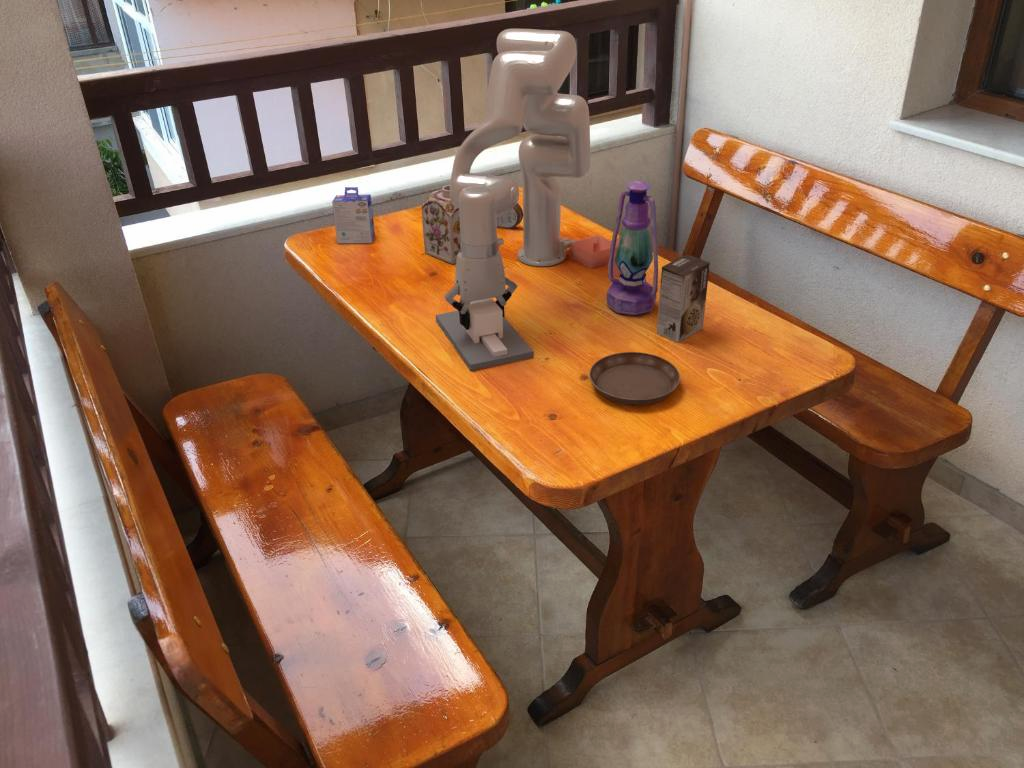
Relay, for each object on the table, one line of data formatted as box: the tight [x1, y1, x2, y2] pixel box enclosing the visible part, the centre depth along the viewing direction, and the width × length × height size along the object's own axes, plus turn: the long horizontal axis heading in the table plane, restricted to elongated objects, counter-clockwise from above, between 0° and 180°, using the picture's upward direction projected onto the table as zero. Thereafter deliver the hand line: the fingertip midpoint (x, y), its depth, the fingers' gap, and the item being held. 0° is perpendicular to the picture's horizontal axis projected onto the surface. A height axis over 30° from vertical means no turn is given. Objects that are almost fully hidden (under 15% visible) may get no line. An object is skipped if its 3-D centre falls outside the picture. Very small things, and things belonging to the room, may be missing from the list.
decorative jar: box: [421, 184, 461, 265], centre depth 223 cm, size 12×12×18 cm
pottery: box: [569, 234, 622, 278], centre depth 218 cm, size 18×10×10 cm, turn 34°
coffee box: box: [656, 253, 711, 343], centre depth 185 cm, size 9×6×16 cm
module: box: [463, 298, 503, 343], centre depth 186 cm, size 6×8×6 cm
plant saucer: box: [588, 351, 681, 406], centre depth 170 cm, size 18×18×3 cm
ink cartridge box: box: [331, 186, 376, 244], centre depth 232 cm, size 10×6×14 cm, turn 89°
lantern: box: [606, 180, 659, 316], centre depth 192 cm, size 13×12×30 cm
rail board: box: [435, 310, 534, 372], centre depth 187 cm, size 14×24×3 cm, turn 22°
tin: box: [497, 202, 523, 230], centre depth 241 cm, size 15×3×8 cm, turn 66°
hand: (482, 323), depth 186 cm, fingers open, 7 cm apart
